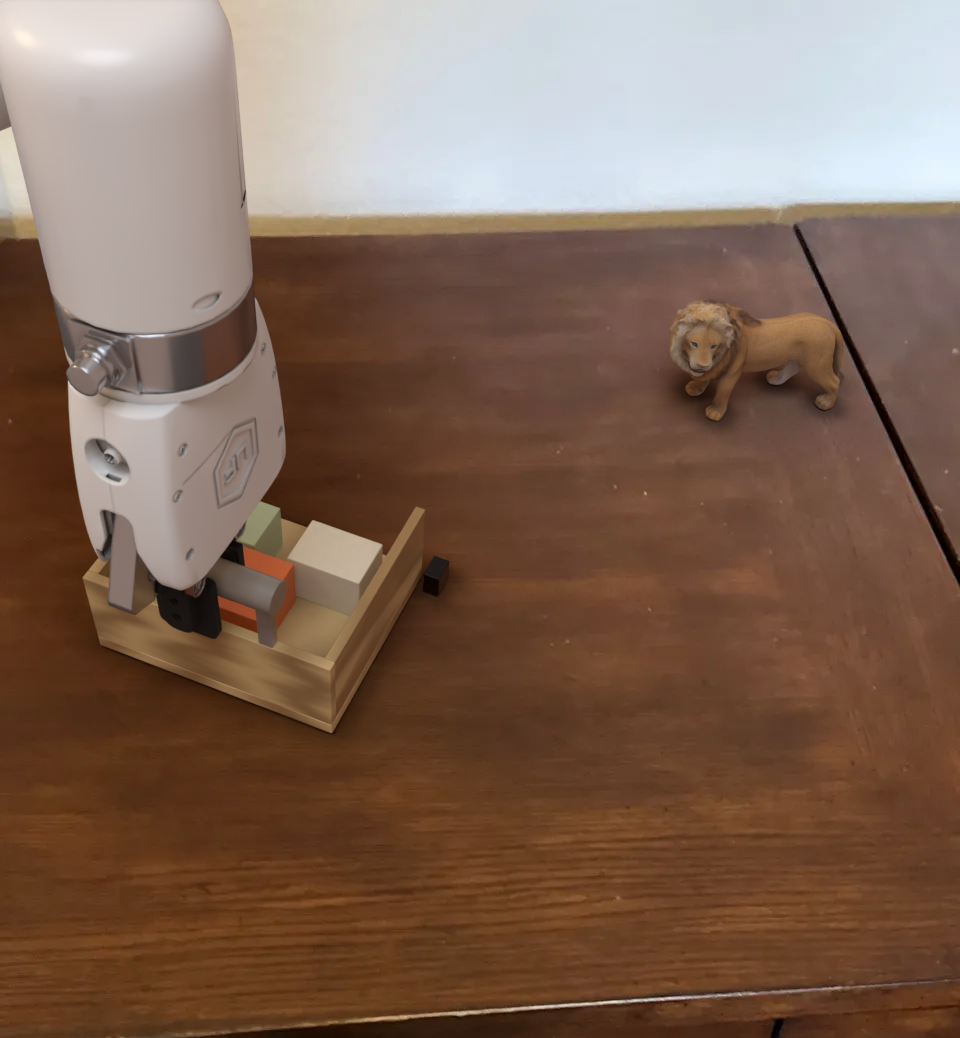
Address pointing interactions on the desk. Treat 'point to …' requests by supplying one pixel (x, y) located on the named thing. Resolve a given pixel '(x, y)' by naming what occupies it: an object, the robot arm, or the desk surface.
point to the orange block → (271, 567)
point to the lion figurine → (753, 350)
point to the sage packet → (263, 530)
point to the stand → (435, 576)
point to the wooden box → (273, 633)
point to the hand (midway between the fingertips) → (204, 605)
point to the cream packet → (334, 566)
